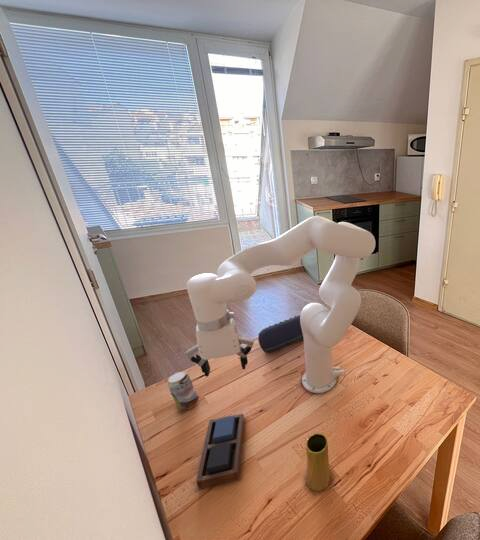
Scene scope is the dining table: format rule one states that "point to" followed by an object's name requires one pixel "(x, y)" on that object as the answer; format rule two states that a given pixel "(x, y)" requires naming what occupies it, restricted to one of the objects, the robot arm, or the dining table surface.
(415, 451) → the dining table surface
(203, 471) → the brown divided wooden tray
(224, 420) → the blue rectangular block
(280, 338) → the portable speaker
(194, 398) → the beverage can
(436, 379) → the dining table surface
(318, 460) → the vase
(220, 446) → the dark grey rectangular block
